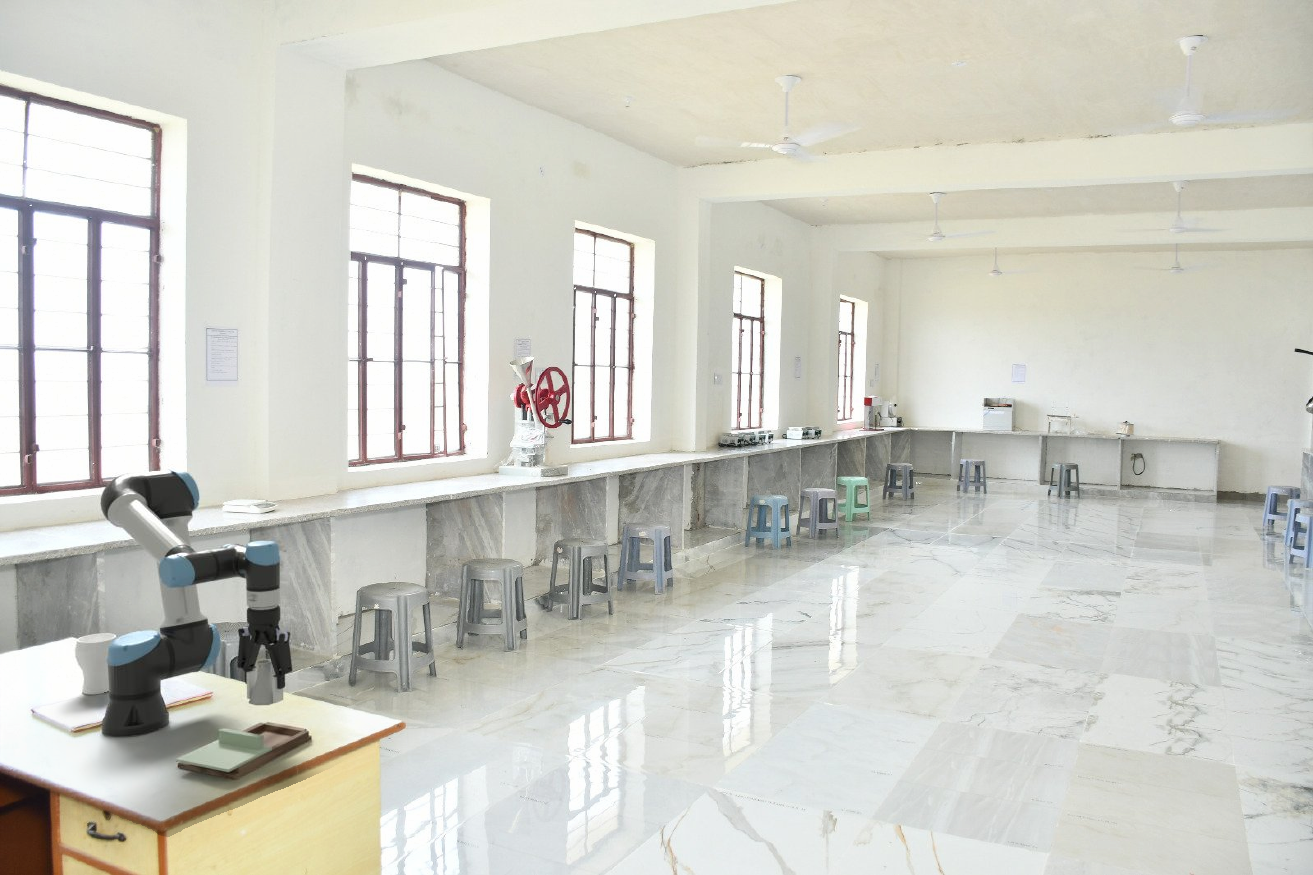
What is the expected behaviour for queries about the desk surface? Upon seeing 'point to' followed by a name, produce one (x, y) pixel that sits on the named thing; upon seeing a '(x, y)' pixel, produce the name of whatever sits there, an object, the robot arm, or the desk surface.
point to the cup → (94, 661)
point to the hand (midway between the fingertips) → (265, 699)
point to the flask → (263, 685)
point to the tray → (274, 736)
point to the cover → (227, 751)
